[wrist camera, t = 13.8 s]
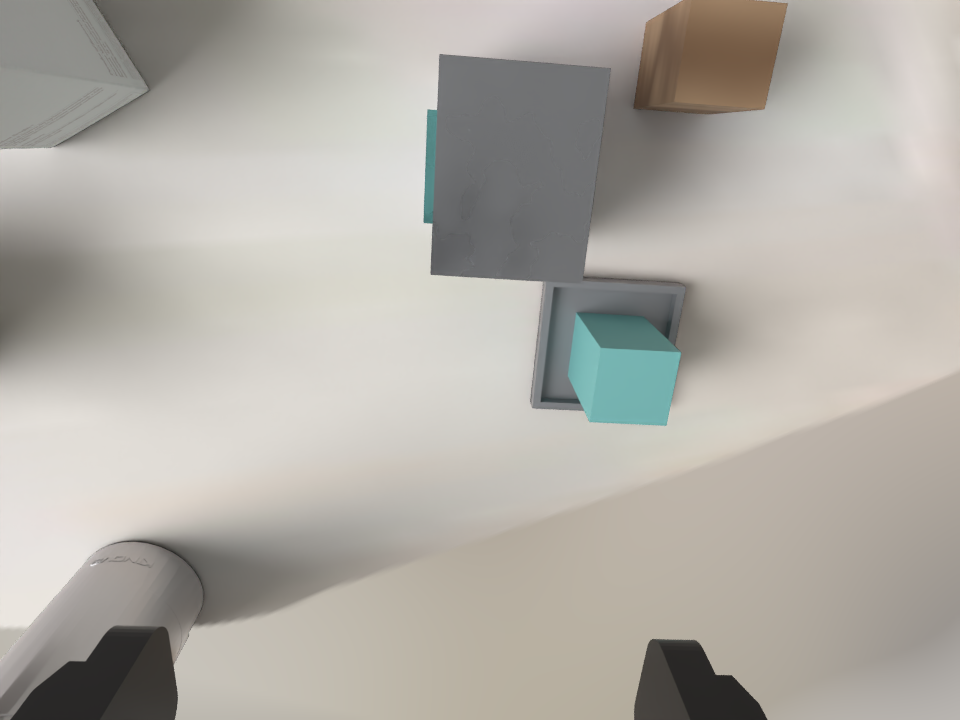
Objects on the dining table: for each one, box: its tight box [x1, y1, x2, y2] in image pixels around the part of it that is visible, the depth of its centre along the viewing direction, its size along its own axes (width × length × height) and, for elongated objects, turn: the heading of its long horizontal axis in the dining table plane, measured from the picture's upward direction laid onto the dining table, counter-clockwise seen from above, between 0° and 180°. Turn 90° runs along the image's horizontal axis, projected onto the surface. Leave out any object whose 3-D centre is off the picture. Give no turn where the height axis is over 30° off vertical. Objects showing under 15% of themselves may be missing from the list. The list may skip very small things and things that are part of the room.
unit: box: [424, 54, 611, 284], centre depth 31 cm, size 9×8×11 cm
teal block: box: [568, 312, 681, 426], centre depth 36 cm, size 4×4×7 cm
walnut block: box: [633, 0, 788, 114], centre depth 31 cm, size 4×4×7 cm
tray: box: [530, 277, 686, 411], centre depth 40 cm, size 9×9×1 cm
